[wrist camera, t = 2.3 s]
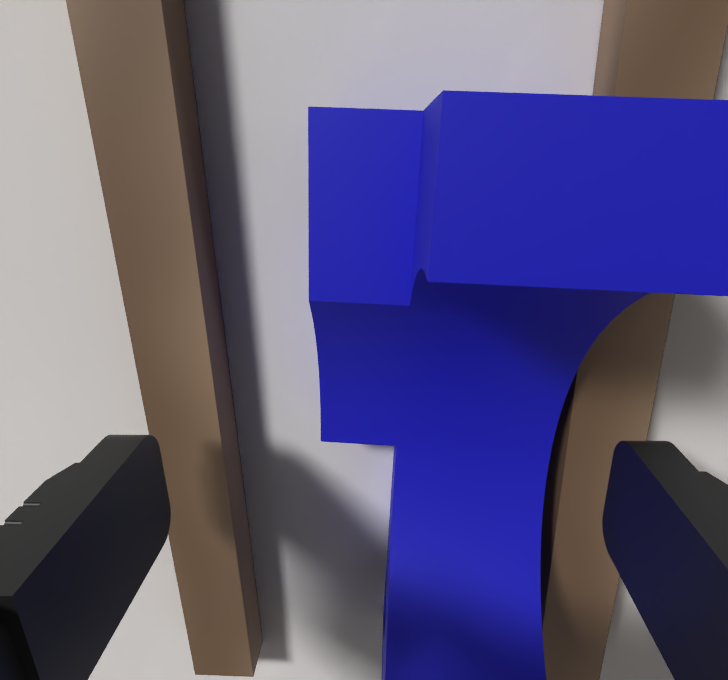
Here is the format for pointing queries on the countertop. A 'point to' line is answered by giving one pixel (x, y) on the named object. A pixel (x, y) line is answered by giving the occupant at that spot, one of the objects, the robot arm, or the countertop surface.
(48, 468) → the countertop surface
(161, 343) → the guide channel
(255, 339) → the countertop surface
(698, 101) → the cable clip
